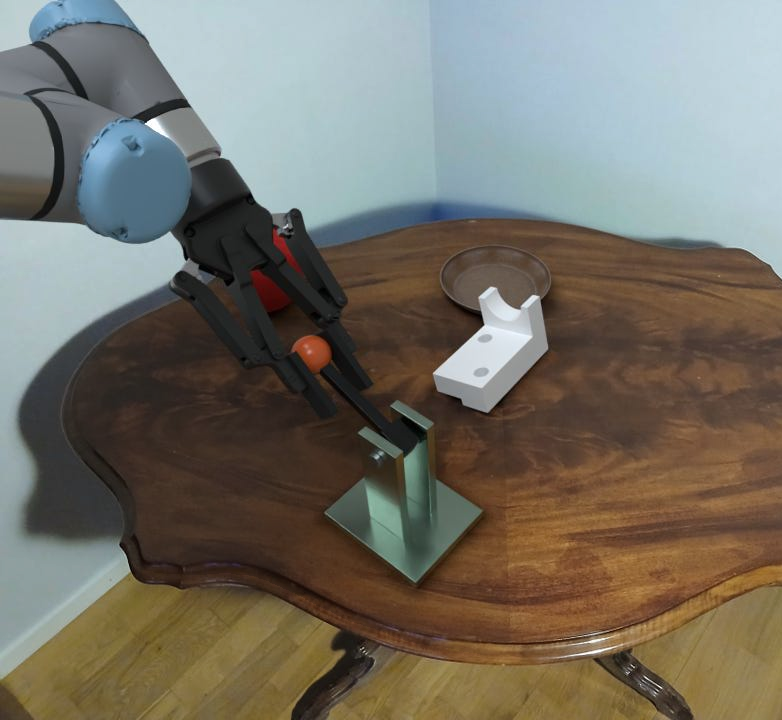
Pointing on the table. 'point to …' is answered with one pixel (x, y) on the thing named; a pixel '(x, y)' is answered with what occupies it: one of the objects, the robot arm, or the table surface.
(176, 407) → the table surface
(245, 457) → the table surface
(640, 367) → the table surface
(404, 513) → the clamp
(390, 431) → the clamp lever
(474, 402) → the bracket
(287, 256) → the apple
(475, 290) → the saucer
